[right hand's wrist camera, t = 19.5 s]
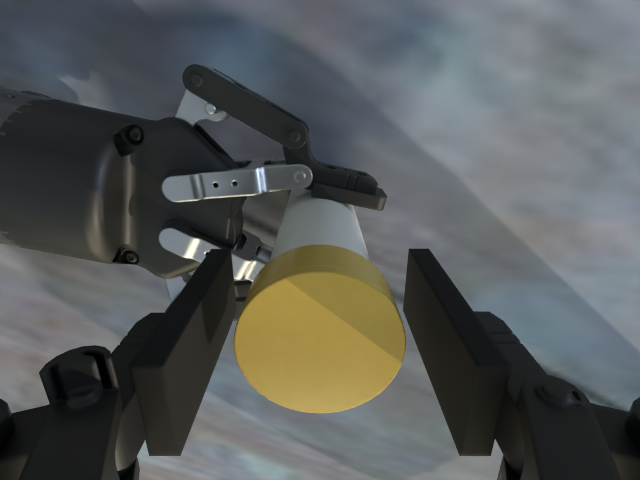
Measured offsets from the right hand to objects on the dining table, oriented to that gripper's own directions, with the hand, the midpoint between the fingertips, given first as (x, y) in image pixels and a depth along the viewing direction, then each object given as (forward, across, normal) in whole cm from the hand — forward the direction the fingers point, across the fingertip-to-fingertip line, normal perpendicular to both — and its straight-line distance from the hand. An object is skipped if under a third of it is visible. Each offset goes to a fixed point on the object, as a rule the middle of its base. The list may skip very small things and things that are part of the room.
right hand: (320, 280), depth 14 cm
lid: (-4, 0, 0) cm, 4 cm away
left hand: (+6, -3, 0) cm, 6 cm away
